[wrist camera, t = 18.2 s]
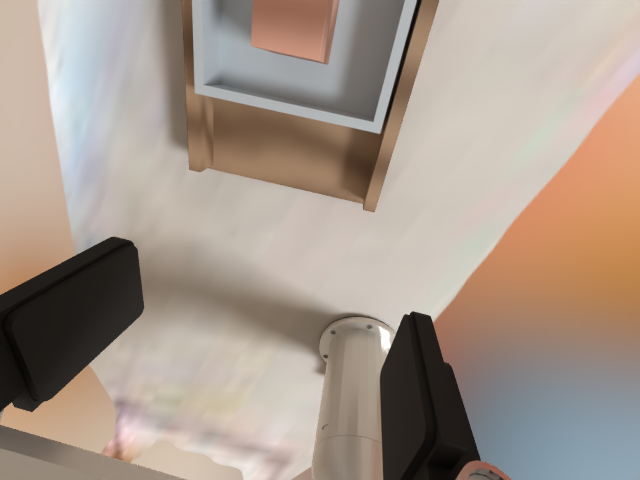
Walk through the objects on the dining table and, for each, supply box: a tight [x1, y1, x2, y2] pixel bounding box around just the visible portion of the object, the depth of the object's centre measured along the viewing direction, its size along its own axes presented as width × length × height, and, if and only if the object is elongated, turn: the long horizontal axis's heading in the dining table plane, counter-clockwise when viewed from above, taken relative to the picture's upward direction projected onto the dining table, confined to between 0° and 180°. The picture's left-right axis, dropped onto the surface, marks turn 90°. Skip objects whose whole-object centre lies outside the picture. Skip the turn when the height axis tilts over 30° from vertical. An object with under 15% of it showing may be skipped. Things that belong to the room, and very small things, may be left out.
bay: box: [182, 0, 439, 212], centre depth 26 cm, size 23×20×5 cm
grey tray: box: [192, 0, 417, 134], centre depth 24 cm, size 14×17×4 cm
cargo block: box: [251, 0, 340, 65], centre depth 22 cm, size 5×5×6 cm
